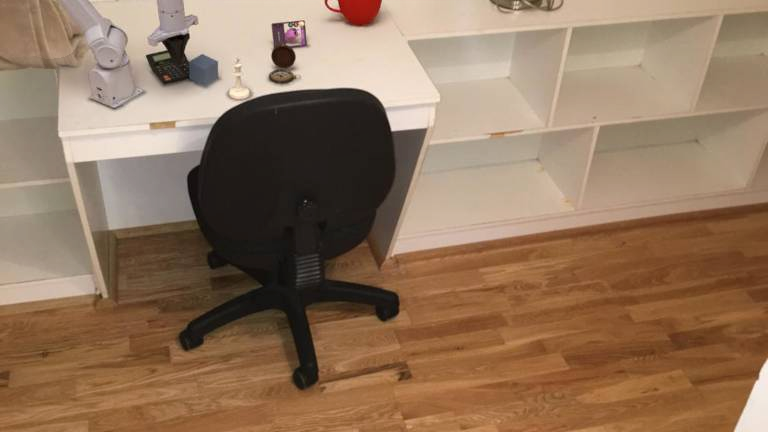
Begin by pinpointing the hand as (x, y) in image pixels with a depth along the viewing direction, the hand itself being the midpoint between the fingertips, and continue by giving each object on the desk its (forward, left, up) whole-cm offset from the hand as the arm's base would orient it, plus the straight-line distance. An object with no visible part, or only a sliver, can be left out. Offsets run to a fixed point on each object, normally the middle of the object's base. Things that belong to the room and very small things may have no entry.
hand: (177, 62), depth 185 cm
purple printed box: (+36, -5, -9) cm, 38 cm away
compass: (+21, -15, -9) cm, 28 cm away
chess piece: (+8, -11, -9) cm, 16 cm away
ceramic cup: (+58, -12, -9) cm, 60 cm away
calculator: (+7, +9, -9) cm, 14 cm away
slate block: (+8, 0, -8) cm, 12 cm away
